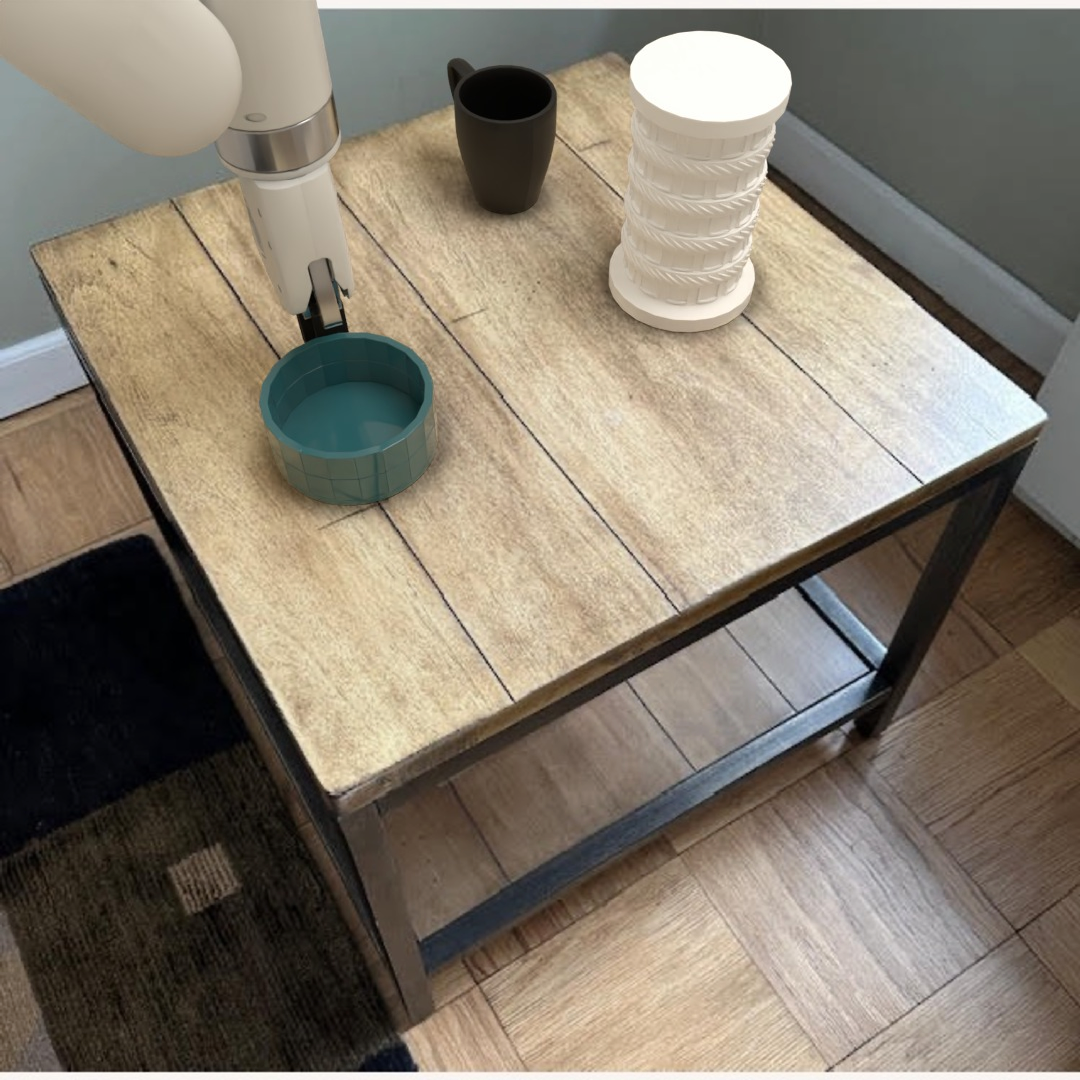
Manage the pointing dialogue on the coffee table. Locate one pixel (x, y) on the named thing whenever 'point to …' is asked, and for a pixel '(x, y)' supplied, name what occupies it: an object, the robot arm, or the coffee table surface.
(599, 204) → the coffee table surface
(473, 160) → the mug
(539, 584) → the coffee table surface
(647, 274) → the decorative container
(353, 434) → the bowl
